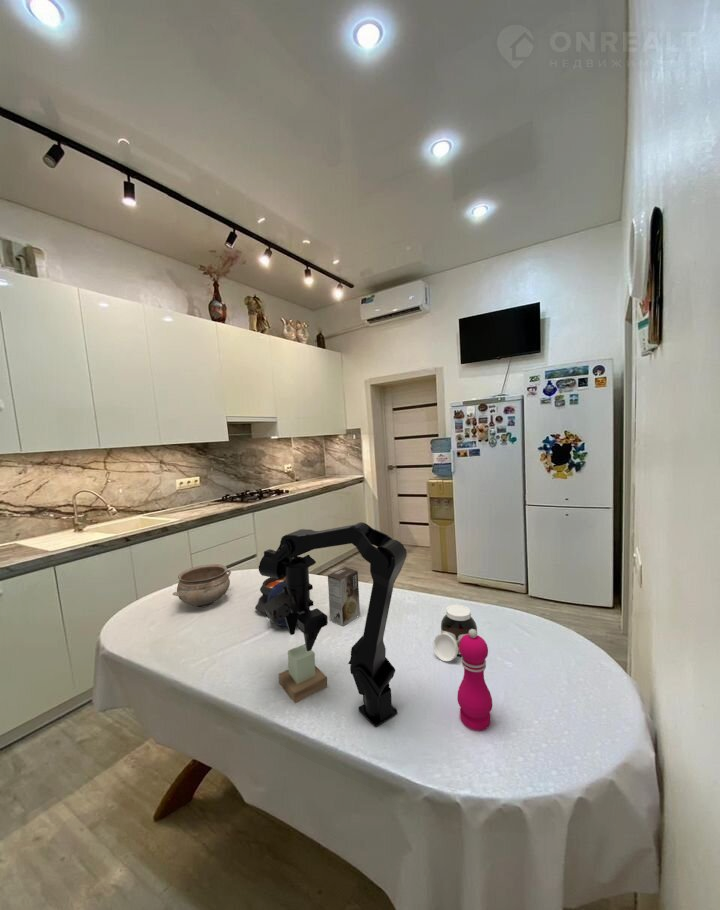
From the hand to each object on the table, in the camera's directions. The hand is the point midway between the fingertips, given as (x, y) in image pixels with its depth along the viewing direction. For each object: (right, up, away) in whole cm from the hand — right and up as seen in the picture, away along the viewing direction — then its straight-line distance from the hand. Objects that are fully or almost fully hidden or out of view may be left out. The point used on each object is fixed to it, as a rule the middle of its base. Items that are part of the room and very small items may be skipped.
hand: (300, 642), depth 91 cm
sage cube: (0, -9, +1) cm, 9 cm away
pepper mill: (+40, -10, -13) cm, 43 cm away
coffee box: (+10, -9, +33) cm, 36 cm away
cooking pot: (-46, -11, +50) cm, 68 cm away
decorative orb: (-9, -10, +32) cm, 35 cm away
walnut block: (+1, -12, 0) cm, 12 cm away
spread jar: (+42, -9, +11) cm, 45 cm away
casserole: (-14, -10, +48) cm, 51 cm away
